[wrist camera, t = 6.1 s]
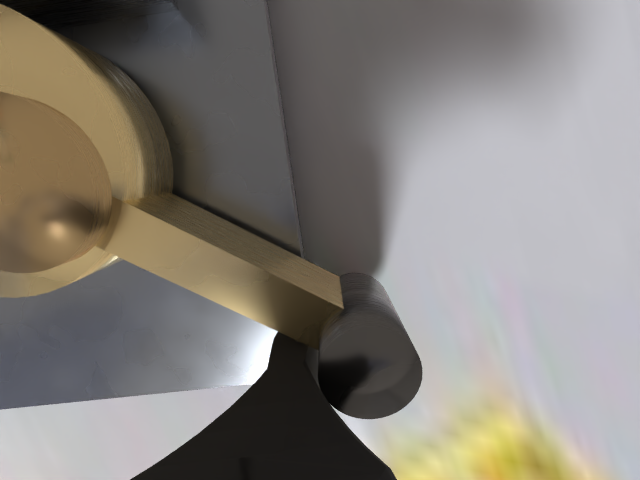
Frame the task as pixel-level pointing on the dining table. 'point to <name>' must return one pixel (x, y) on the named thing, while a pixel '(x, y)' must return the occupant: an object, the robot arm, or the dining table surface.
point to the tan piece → (164, 221)
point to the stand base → (188, 183)
